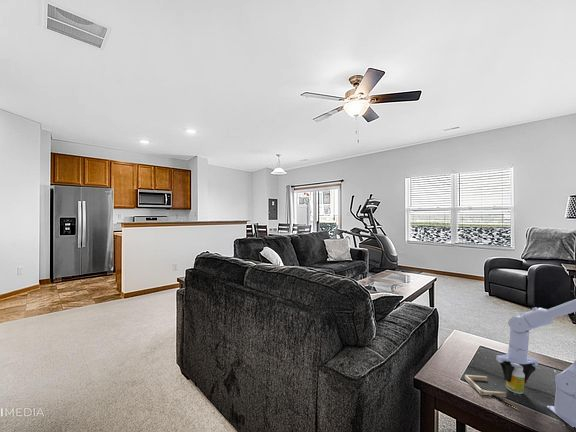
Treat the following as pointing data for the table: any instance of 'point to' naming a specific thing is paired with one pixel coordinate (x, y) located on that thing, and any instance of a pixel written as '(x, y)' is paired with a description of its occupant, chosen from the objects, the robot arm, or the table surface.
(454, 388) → the table surface
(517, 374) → the supplement bottle
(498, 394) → the ash bracket
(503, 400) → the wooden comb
